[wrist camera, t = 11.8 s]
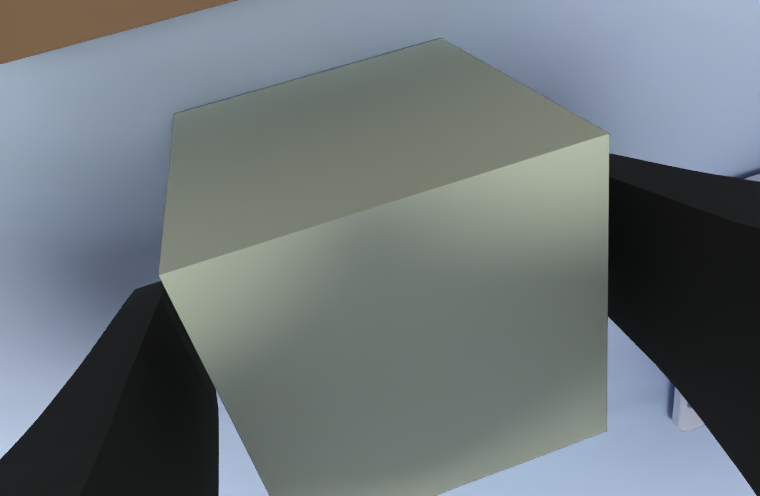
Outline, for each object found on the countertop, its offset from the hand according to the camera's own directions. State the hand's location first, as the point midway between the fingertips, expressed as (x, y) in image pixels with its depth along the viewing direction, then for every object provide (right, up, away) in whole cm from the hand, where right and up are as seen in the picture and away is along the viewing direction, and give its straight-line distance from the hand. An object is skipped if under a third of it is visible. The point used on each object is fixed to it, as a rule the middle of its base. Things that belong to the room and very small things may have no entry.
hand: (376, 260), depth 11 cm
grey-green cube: (-1, +1, +2) cm, 3 cm away
